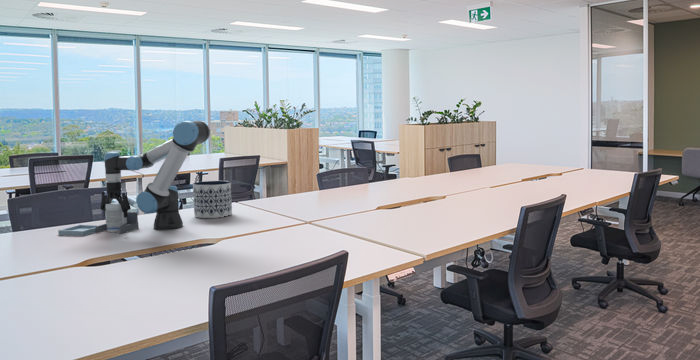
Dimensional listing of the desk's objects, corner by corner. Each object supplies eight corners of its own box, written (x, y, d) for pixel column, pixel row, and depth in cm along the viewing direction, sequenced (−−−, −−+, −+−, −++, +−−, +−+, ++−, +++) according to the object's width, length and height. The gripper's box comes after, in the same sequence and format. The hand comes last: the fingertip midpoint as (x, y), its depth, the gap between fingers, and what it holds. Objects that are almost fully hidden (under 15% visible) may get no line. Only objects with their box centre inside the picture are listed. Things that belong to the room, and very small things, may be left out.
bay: (114, 227, 294) (113, 211, 293) (138, 228, 290) (137, 212, 289) (96, 232, 280) (94, 215, 279) (121, 233, 276) (120, 216, 275)
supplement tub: (128, 231, 283) (126, 203, 281) (108, 233, 278) (107, 205, 276) (124, 228, 291) (122, 201, 289) (105, 230, 286) (103, 203, 284)
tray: (103, 230, 287) (103, 225, 286) (83, 236, 272) (82, 231, 272) (80, 229, 290) (79, 224, 290) (58, 234, 276) (58, 230, 276)
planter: (227, 218, 315) (225, 184, 313) (189, 219, 315) (187, 185, 313) (235, 212, 337) (234, 180, 335) (200, 212, 337) (199, 180, 335)
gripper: (136, 180, 282) (138, 222, 285) (100, 180, 288) (103, 221, 290) (127, 182, 275) (129, 225, 278) (90, 181, 281) (93, 223, 283)
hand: (116, 223), depth 284 cm, fingers closed on supplement tub, 10 cm apart
